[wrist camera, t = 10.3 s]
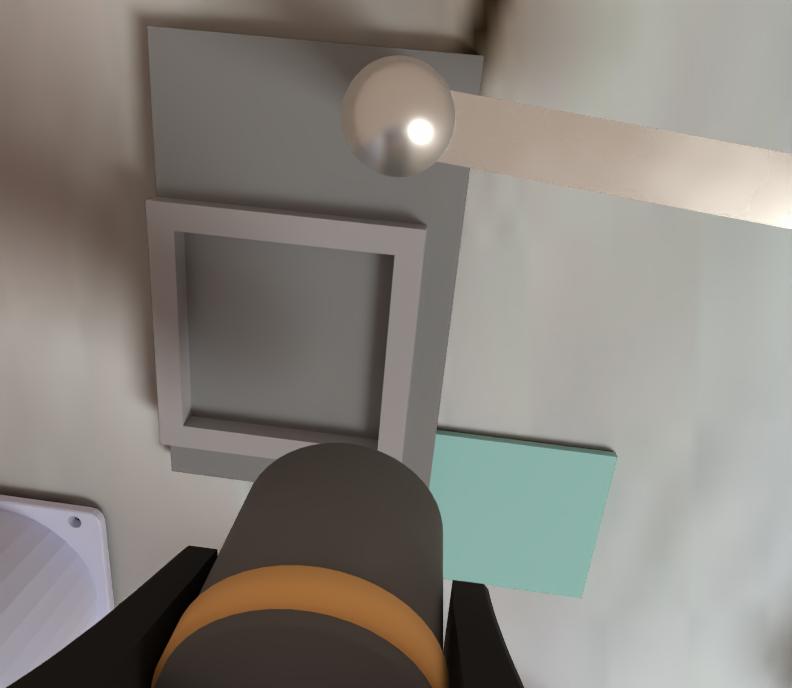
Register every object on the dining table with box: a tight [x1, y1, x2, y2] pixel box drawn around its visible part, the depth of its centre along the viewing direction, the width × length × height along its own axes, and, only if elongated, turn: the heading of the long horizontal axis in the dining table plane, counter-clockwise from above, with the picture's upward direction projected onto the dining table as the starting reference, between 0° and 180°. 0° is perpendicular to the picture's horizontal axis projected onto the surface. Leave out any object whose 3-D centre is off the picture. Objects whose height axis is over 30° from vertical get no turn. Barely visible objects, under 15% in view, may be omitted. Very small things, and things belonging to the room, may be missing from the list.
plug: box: [151, 443, 449, 688], centre depth 12 cm, size 5×5×5 cm
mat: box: [429, 430, 617, 598], centre depth 22 cm, size 6×6×1 cm
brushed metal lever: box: [341, 55, 792, 229], centre depth 11 cm, size 10×2×1 cm, turn 80°
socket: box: [145, 26, 484, 489], centre depth 17 cm, size 9×14×6 cm, turn 175°
